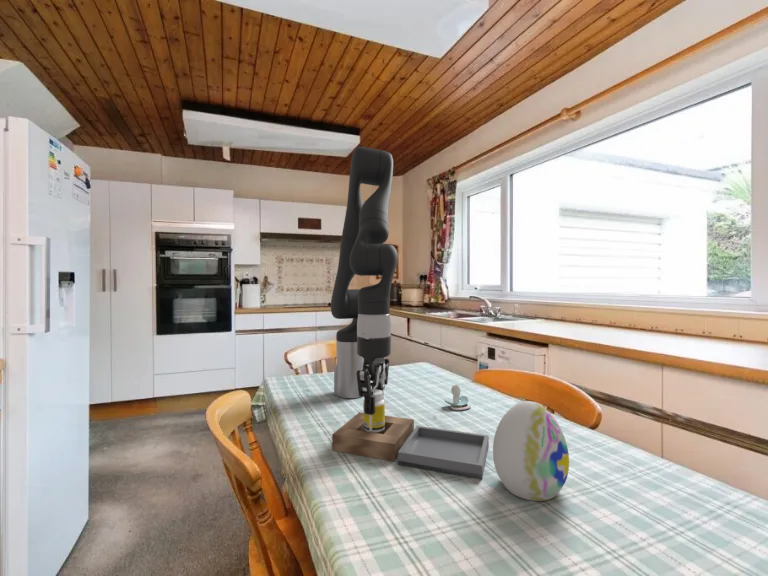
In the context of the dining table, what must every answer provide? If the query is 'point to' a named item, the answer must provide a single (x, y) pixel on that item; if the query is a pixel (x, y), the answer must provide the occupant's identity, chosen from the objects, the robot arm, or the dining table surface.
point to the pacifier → (456, 403)
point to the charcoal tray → (445, 451)
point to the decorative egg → (531, 452)
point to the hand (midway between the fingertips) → (374, 409)
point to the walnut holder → (373, 438)
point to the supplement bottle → (376, 415)
